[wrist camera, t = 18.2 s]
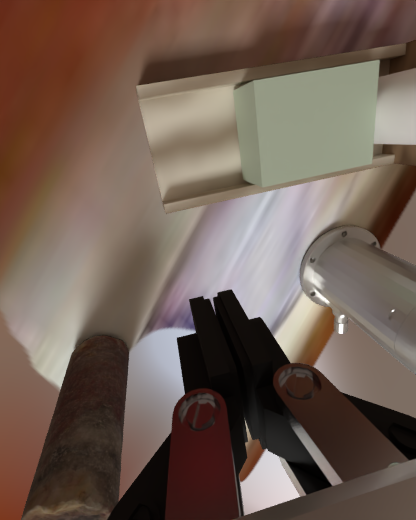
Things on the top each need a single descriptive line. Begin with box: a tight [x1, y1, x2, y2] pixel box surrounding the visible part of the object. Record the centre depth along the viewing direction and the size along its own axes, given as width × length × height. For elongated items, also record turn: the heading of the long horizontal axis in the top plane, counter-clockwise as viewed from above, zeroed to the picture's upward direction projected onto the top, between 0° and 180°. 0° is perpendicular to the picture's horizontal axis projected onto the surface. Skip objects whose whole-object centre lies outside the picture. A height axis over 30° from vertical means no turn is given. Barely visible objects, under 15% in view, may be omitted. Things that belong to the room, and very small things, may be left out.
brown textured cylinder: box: [21, 335, 129, 520], centre depth 30 cm, size 8×7×20 cm
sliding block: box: [233, 60, 380, 188], centre depth 29 cm, size 9×12×6 cm
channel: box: [136, 40, 416, 214], centre depth 30 cm, size 12×30×8 cm, turn 99°
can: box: [374, 68, 416, 145], centre depth 28 cm, size 6×6×12 cm
